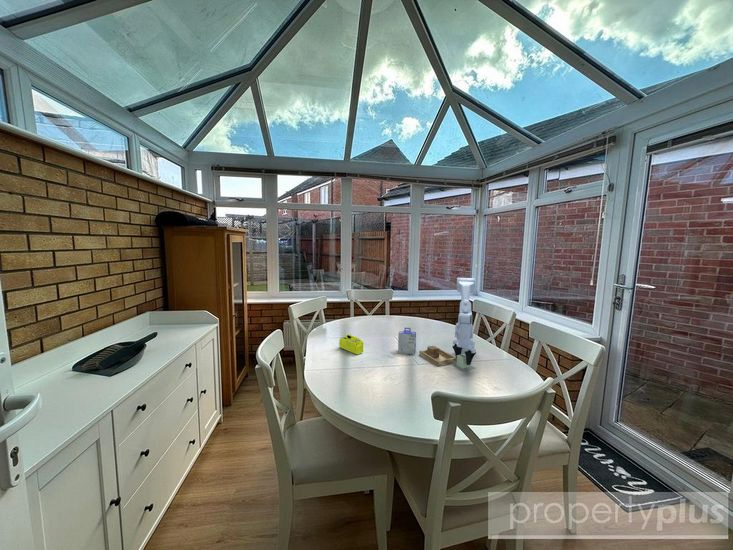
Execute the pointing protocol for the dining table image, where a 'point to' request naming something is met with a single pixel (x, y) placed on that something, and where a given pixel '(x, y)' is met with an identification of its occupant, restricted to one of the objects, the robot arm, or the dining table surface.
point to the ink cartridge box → (407, 341)
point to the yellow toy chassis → (352, 344)
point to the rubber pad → (461, 368)
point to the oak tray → (439, 358)
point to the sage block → (462, 361)
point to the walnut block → (433, 351)
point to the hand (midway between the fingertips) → (463, 361)
